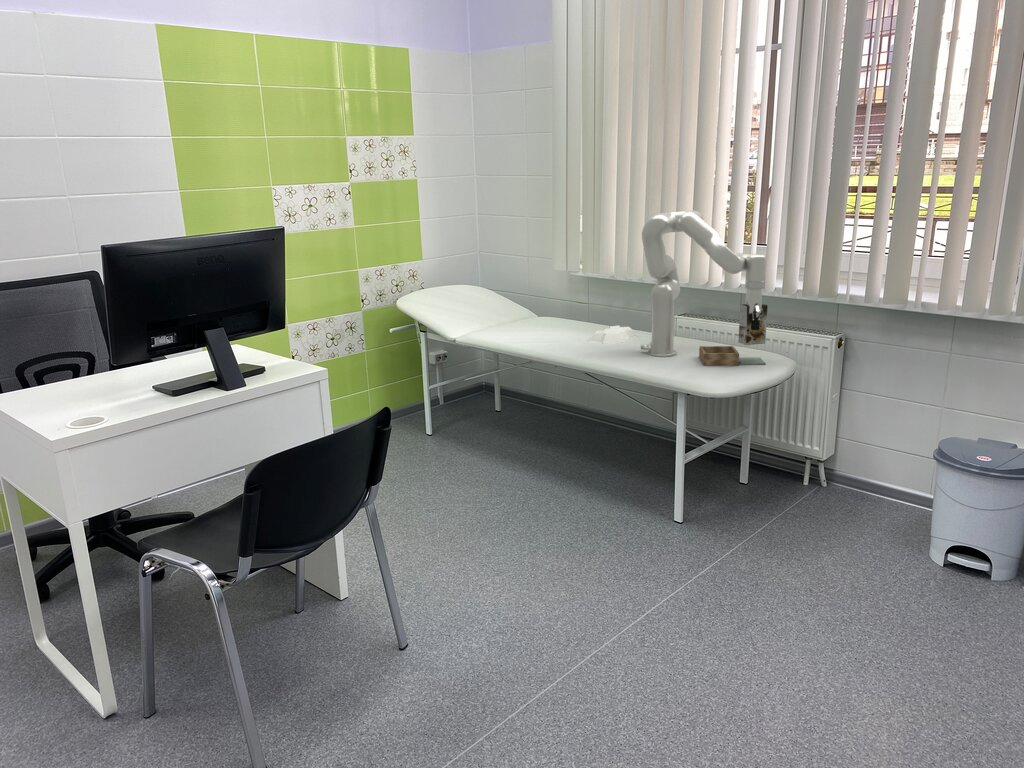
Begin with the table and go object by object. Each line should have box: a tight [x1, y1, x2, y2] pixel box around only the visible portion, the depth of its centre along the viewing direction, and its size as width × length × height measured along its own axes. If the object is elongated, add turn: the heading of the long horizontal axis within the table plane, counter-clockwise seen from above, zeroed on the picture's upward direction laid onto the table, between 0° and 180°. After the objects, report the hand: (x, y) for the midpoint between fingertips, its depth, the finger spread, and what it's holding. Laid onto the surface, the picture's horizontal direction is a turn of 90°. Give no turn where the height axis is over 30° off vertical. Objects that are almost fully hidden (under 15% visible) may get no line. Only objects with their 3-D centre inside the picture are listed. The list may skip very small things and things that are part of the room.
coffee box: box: [737, 303, 769, 346], centre depth 309 cm, size 9×6×16 cm
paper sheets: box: [587, 324, 639, 344], centre depth 361 cm, size 35×20×6 cm, turn 141°
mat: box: [739, 356, 767, 366], centre depth 314 cm, size 10×10×1 cm
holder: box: [698, 345, 740, 367], centre depth 315 cm, size 14×14×5 cm
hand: (752, 327), depth 310 cm, fingers closed on coffee box, 8 cm apart
